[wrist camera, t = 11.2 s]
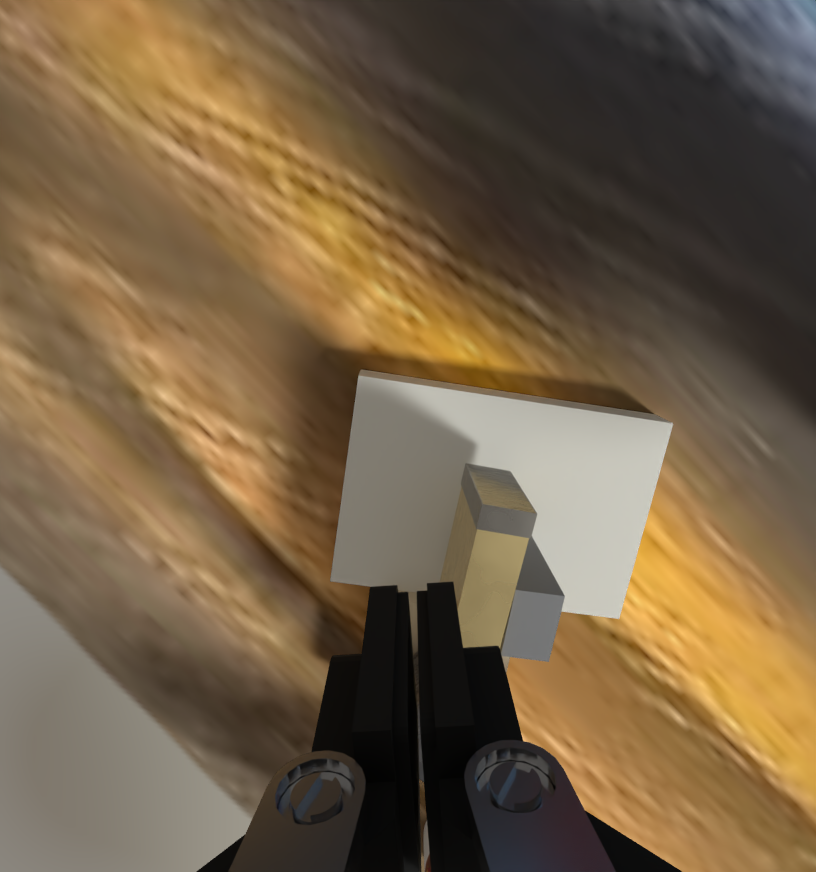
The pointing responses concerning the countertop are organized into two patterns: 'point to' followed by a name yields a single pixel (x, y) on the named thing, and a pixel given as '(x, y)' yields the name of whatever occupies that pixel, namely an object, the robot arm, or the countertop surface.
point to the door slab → (533, 470)
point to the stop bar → (485, 557)
